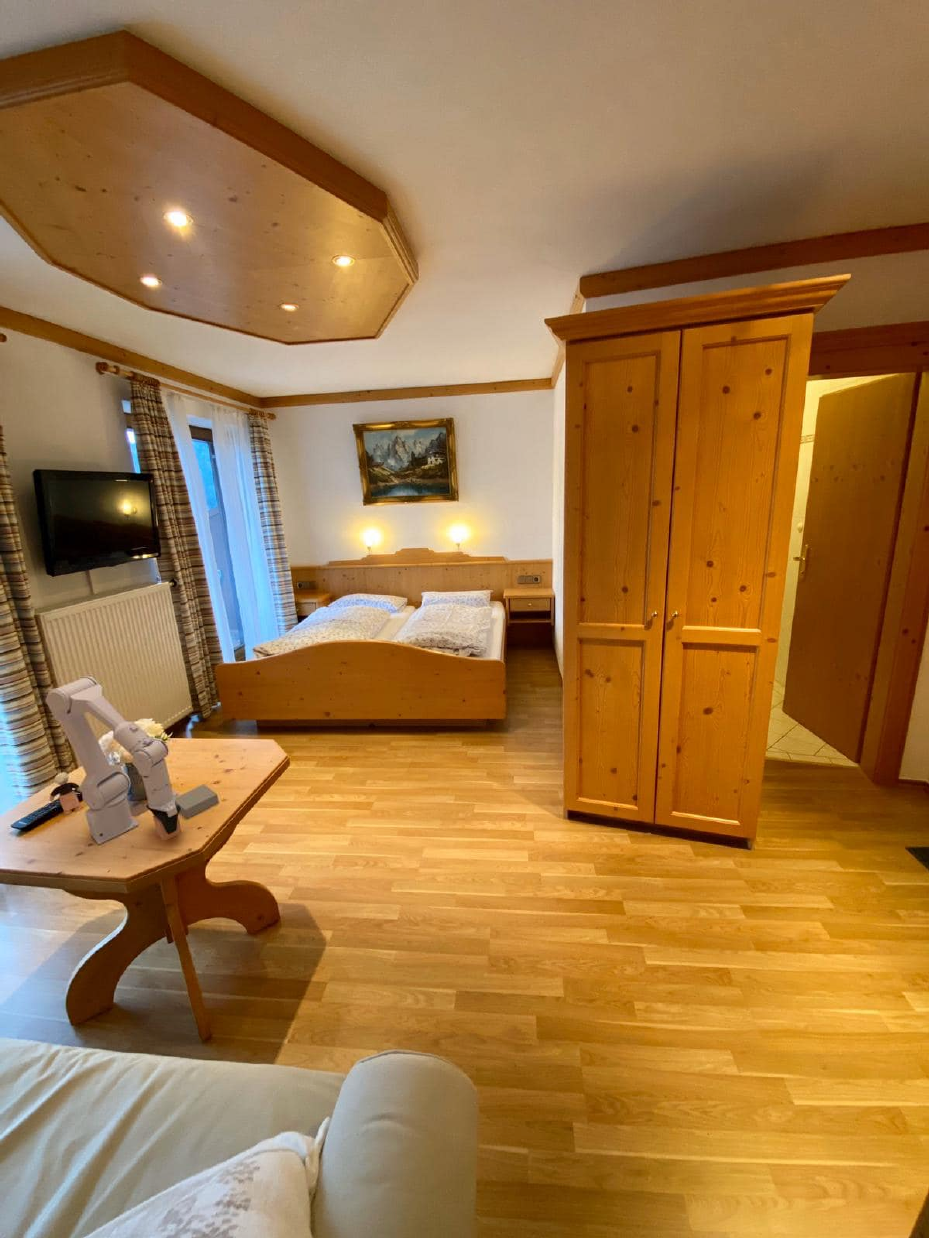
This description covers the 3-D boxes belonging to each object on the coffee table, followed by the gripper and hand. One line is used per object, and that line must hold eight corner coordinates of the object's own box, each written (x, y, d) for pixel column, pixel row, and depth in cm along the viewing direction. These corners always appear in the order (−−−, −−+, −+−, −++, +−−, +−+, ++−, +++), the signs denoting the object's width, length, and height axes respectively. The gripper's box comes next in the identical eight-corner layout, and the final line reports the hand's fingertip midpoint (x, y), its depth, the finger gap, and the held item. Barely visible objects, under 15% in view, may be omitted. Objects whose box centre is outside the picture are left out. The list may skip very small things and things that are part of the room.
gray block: (187, 818, 136) (185, 809, 135) (174, 807, 141) (172, 798, 141) (219, 802, 143) (217, 794, 142) (205, 792, 148) (204, 784, 147)
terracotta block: (163, 841, 127) (159, 822, 126) (157, 834, 130) (152, 815, 128) (181, 831, 130) (177, 813, 129) (175, 825, 133) (170, 807, 132)
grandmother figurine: (85, 801, 147) (74, 765, 144) (88, 806, 144) (77, 769, 141) (53, 815, 141) (41, 777, 138) (56, 820, 139) (44, 782, 135)
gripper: (184, 786, 125) (195, 830, 128) (163, 769, 134) (173, 810, 137) (155, 800, 120) (166, 845, 123) (135, 781, 129) (146, 824, 132)
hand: (168, 828), depth 130 cm, fingers closed on terracotta block, 4 cm apart
